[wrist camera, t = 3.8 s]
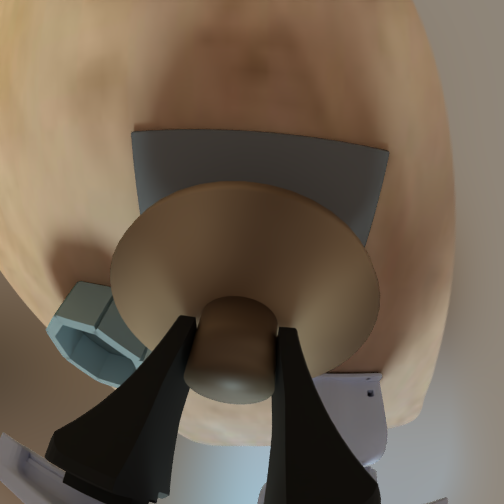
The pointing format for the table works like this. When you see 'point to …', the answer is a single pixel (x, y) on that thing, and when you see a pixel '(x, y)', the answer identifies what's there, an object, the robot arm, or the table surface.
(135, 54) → the table surface
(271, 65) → the table surface
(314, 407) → the robot arm
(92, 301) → the bowl
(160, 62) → the table surface
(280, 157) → the mat
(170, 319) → the lid
